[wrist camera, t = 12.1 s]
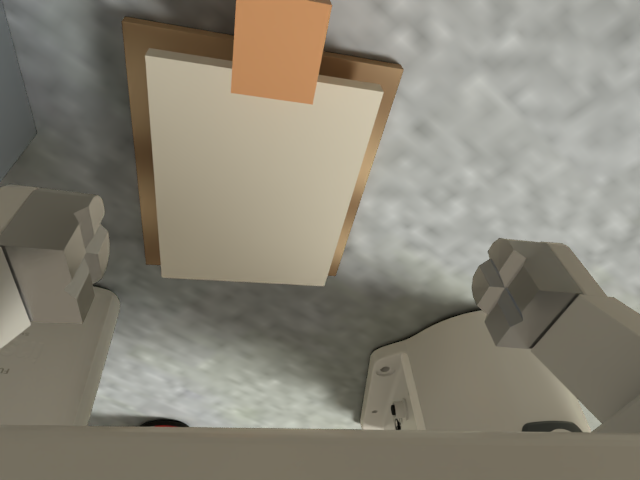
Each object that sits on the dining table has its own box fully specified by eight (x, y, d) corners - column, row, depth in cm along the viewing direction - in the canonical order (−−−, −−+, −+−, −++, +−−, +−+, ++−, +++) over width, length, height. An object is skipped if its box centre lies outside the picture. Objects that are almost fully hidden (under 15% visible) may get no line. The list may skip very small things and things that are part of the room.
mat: (334, 269, 29) (335, 275, 29) (147, 257, 27) (146, 264, 26) (400, 64, 20) (403, 69, 19) (124, 16, 17) (121, 21, 17)
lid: (321, 265, 28) (328, 314, 25) (166, 255, 26) (154, 308, 23) (399, -8, 17) (427, 23, 14) (147, -60, 15) (121, -36, 12)
